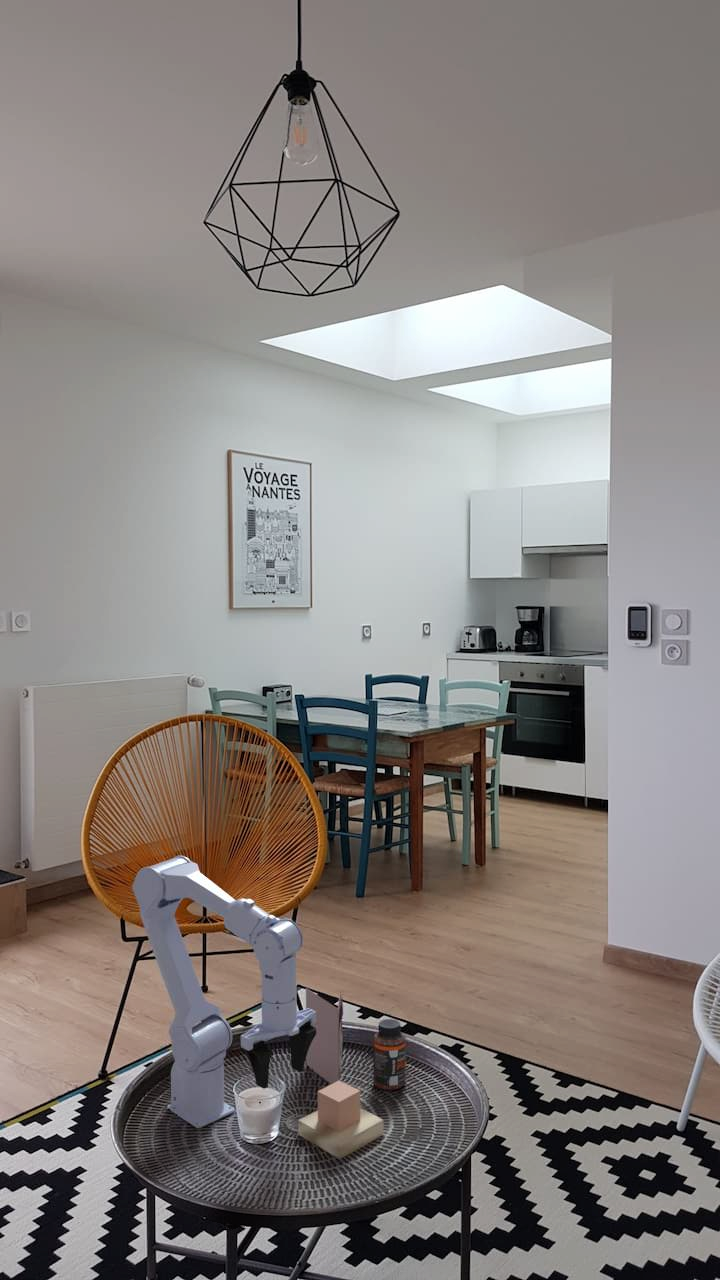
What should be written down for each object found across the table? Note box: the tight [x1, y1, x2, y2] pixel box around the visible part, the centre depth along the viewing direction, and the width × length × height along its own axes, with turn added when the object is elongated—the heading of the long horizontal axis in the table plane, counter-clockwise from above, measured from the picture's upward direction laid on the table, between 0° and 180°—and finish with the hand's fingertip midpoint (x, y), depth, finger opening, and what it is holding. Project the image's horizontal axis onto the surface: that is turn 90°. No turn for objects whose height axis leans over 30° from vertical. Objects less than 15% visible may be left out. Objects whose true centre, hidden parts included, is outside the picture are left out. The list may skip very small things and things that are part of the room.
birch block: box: [297, 1107, 384, 1160], centre depth 166 cm, size 10×10×3 cm
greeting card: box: [305, 985, 344, 1085], centre depth 186 cm, size 11×7×15 cm, turn 178°
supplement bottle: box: [372, 1018, 407, 1091], centre depth 183 cm, size 6×6×11 cm
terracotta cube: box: [317, 1080, 361, 1132], centre depth 166 cm, size 5×5×5 cm
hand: (280, 1077), depth 164 cm, fingers open, 7 cm apart
